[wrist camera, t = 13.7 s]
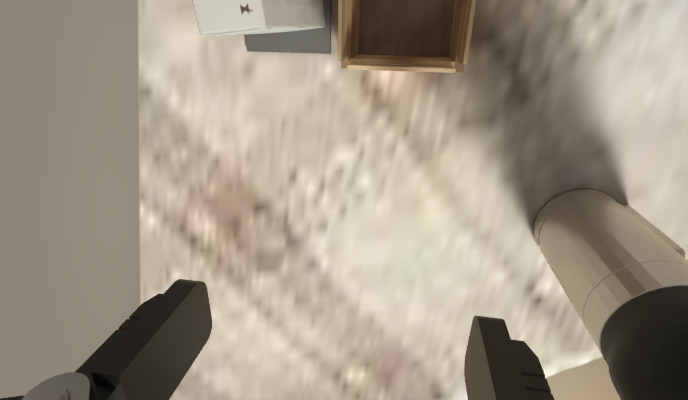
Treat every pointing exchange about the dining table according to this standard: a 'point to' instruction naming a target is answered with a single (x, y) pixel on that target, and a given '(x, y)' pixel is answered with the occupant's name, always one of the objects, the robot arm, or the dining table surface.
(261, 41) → the mat
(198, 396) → the dining table surface
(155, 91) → the dining table surface
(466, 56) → the carton
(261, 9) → the skincare box
